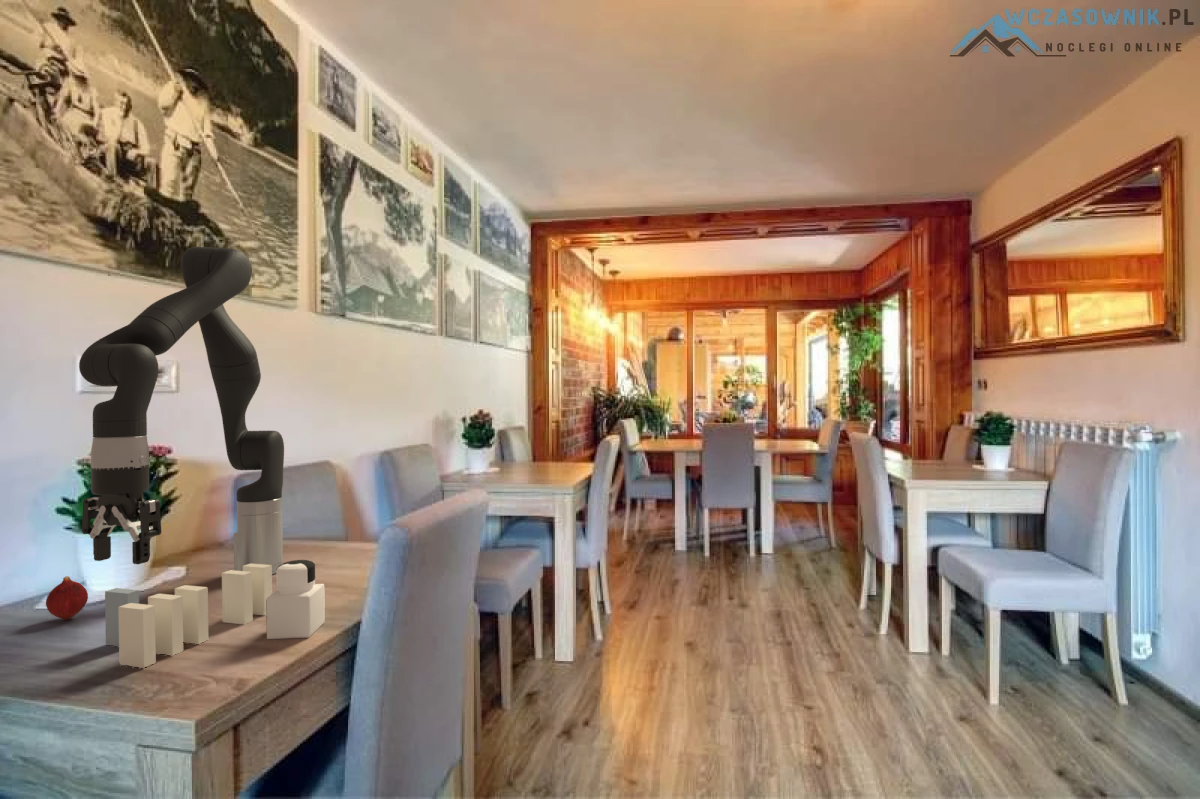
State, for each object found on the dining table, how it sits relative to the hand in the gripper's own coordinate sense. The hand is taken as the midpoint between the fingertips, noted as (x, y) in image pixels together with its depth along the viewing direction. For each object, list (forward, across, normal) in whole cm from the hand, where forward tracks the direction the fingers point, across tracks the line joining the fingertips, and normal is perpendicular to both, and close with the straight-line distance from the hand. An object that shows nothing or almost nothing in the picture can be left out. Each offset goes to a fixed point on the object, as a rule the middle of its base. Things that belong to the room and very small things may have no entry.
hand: (121, 561), depth 99 cm
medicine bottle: (+14, +24, +12) cm, 30 cm away
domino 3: (+14, +10, 0) cm, 17 cm away
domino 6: (+14, +10, +18) cm, 24 cm away
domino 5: (+14, +10, +13) cm, 22 cm away
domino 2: (+14, +10, -5) cm, 18 cm away
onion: (+14, -22, +6) cm, 27 cm away
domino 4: (+14, +10, +4) cm, 18 cm away
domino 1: (+14, 0, 0) cm, 14 cm away
